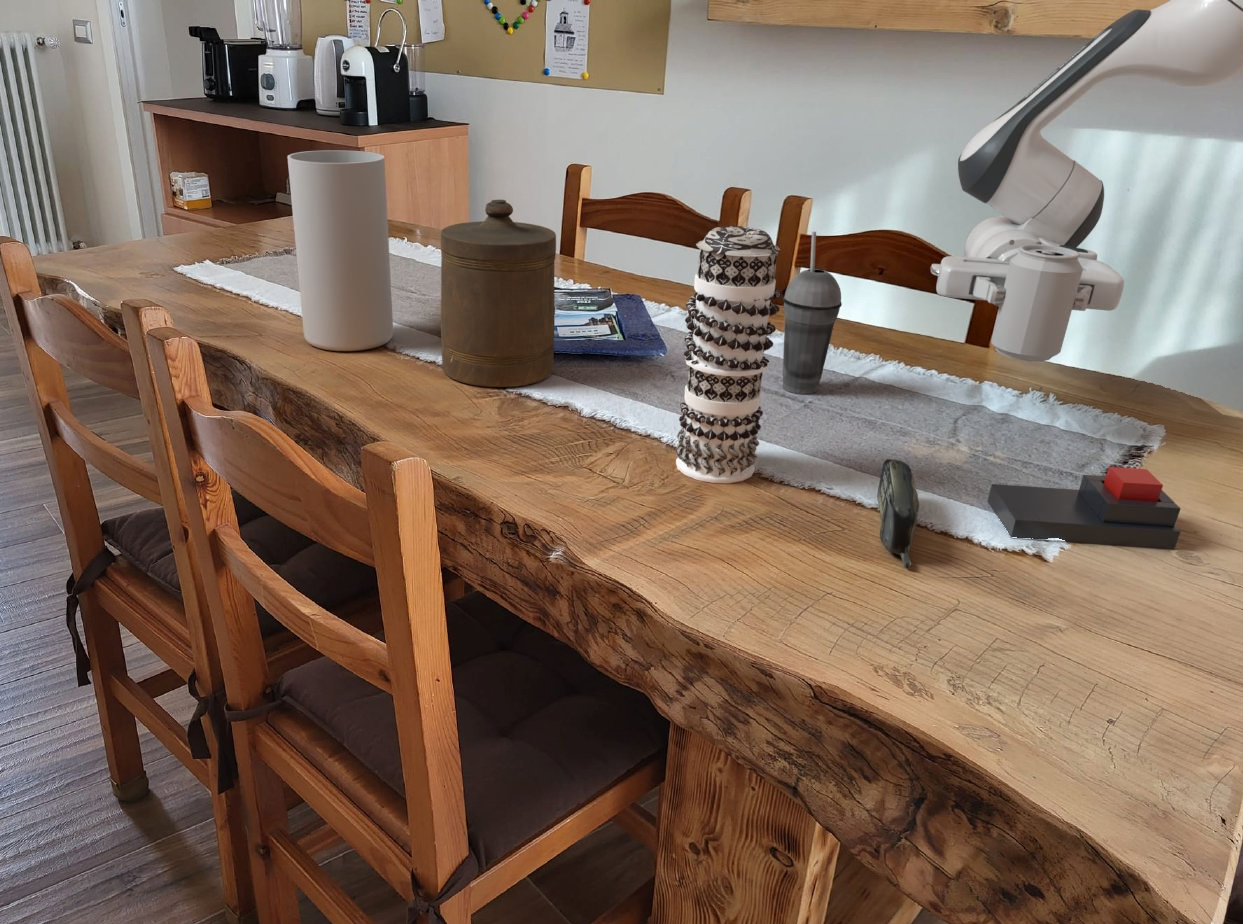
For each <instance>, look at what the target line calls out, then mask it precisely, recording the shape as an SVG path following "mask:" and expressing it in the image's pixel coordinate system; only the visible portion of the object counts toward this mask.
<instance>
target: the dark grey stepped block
mask: <svg viewBox="0 0 1243 924" xmlns="http://www.w3.org/2000/svg"><path fill="white" fill-rule="evenodd" d="M1105 478H1106V475H1095V474H1083V476H1082V478H1081V481H1080V486H1079V488H1078V489H1073V488H1059V487H1057V488H1056V487H1044V486H1028V485H1014V484H1013V485H1012V484H1001V483H999V484H998V483H991V485H990V489H989V494H988V497H987V503H988V505H989V506H990V508H991V509H992V511H993V512H994V514H995V516H996V517H997V516H998V517H997V519H998V520H999V519H1000V520H999V522H1000V521H1001V522H1002V523H1001V522H1000V523H1001V525H1002V524H1003V525H1004V526H1003V525H1002V526H1003V528H1004V527H1005V528H1006V530H1007V531H1008V533H1009V534H1008V533H1007V534H1008V536H1009V535H1010V536H1011V537H1017V538H1031V539H1032V538H1033V539H1048V538H1059V539H1062V540H1065V541H1066V542H1065V543H1073V544H1086V545H1090V544H1091V545H1102V546H1115V547H1127V548H1129V547H1130V548H1144V549H1157V550H1171V551H1172V550H1173V551H1174V550H1175V549H1176V547H1177V544H1178V541H1179V538H1180V534H1181V530H1180V529H1179V528H1178V527H1177V526H1176V523H1177V520H1178V518H1179V514H1180V511H1181V507H1180V506H1179V505H1178V504H1177V503H1176V502H1175V501H1174V500H1173V499H1172V498H1171V497H1170V496H1169V495H1168V494H1167V493H1166V492H1165V491H1163V489H1162V490H1161V493H1160V496H1159V499H1158V502H1151V501H1137V500H1122V499H1116V497H1115V496H1114V495H1113V494H1112V493H1111V492H1110V491H1109V490H1108V489H1107V487H1106V486H1105V485H1104V481H1105ZM1005 528H1004V529H1005ZM1006 530H1005V531H1006ZM1007 531H1006V532H1007ZM1010 536H1009V537H1010ZM1011 537H1010V538H1011Z"/></svg>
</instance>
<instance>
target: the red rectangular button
mask: <svg viewBox="0 0 1243 924" xmlns="http://www.w3.org/2000/svg"><path fill="white" fill-rule="evenodd" d="M1105 476H1106V478H1105V481H1104V485H1105V486H1106V487H1107V489H1108V490H1109V491H1110V492H1111V493H1112V494H1113V495H1114V496H1115V497H1116V499H1122V500H1137V501H1151V502H1158V499H1159V496H1160V493H1161V490H1163V487H1164V484H1162V482H1161V481H1159V480H1158V478H1157V477H1156V476H1154V475H1153V474H1152V473H1151V472H1150V471H1149V470H1148V469H1147V468H1134V467H1132V468H1131V467H1118V466H1117V467H1116V466H1108V469H1107V471H1106V475H1105Z"/></svg>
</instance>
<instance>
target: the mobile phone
mask: <svg viewBox="0 0 1243 924" xmlns="http://www.w3.org/2000/svg"><path fill="white" fill-rule="evenodd" d="M877 489H878V490H877V494H876V497H877V502H878V507H879V514H880V528H879V529H880V530H879V537H880V542H881V544H882V545H883V547H884V548H885V549H886V551H887V552H888V553H891V554H896V555H899V557H900V558H901V561H902V564H903V567H904V569H910V568H911V566H912V562H911V558H910V551H911V549H912V546H913V544H914V539H915V535H916V530H917V525H918V524H917V522H918V514H919V509H920V500H919V495H918V491H917V488H916V486H915V479H914V474H913V472H912V468H911V467H910V466H909V465H908V464H907V463H905V462H904V461H902V460H898V459H893V458H892V459H891V458H886V459H885V460H884V461H883V464H882V467H881V473H880V477H879V483H878V488H877Z"/></svg>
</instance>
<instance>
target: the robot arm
mask: <svg viewBox="0 0 1243 924" xmlns="http://www.w3.org/2000/svg"><path fill="white" fill-rule="evenodd" d="M1242 72H1243V0H1169V1H1167V2H1165V3H1163V4H1161V5H1159V6H1157V7H1154V8H1152V9H1138V8H1137V9H1133V10H1131V11H1130V12H1128V13H1125V14H1124V15H1122V16H1120V18H1117V19H1116V20H1115V21H1114V22H1112V23H1111V24H1109V25H1108V26H1107V27H1105V28H1104V29H1102V31H1100V32H1099V33H1098V34H1096V35H1095V36H1094V37H1093V38H1092V39H1090V40H1089V41H1088V42H1087V43H1086V44H1085V45H1083V46H1082V47H1081V48H1080V49H1078V50H1077V51H1076V52H1075V53H1074V54H1072V55H1071V56H1070V57H1069V58H1068V59H1066V60H1065V62H1063V63H1062V64H1061V65H1060V66H1059V67H1057V68H1056V69H1055V70H1054V71H1053V72H1051V73H1050V74H1049V75H1048V76H1047V77H1046V78H1045V79H1043V80H1042V81H1041V82H1039V84H1037V85H1036V86H1035V87H1034V88H1033V89H1032V90H1031V91H1029V92H1028V93H1027V94H1026V95H1025V96H1023V98H1021V99H1019V101H1017V102H1016V103H1015V104H1014V105H1013V106H1012V107H1011V108H1009V109H1008V110H1007V111H1005V112H1003V113H1002V114H1001V115H1000V116H998V117H996V118H995V119H994V120H993V121H992V122H991V123H989V124H987V125H986V126H985V127H983V128H982V129H980V130H979V131H978V132H977V133H976V134H974V136H973V137H972V138H971V139H970V141H969V142H967V144H966V146H965V147H964V148H963V150H962V152H961V153H960V155H959V156H958V160H957V171H958V173H957V174H958V178H959V184H960V186H961V189H962V191H963V192H965V193H966V194H968V195H969V196H971V197H973V198H975V199H976V200H978V201H980V202H981V203H983V204H987V205H988V206H990V207H991V208H992V209H994V210H995V211H997V213H999V214H1000V215H998V216H993V217H989V218H985V219H984V220H982V221H980V222H979V223H978V224H977V225H976V226H974V227H973V229H972V230H971V232H970V233H969V235H968V236H967V240H966V243H965V246H964V256H963V255H962V256H960V255H947V256H945V257H943V258H942V259H941V261H940V263H932V264H931V266H930V267H929V269H930V273H931V274H932V275H934V276H935V277H936V276H937V280H936V286H935V289H936V293H937V294H938V295H939V296H940V297H941V296H942V297H945V298H950V299H951V298H952V299H963V300H978V301H987V302H988V303H989V304H993V306H996V307H998V308H999V305H1000V304H1003V302H1004V296H1005V295H1006V288H1004V284H1005V280H1006V276H1007V272H1008V267H1009V263H1010V259H1011V258H1013V257H1014V256H1015V255H1017V254H1018V253H1019V252H1020V250H1019V247H1021V246H1023V245H1029V244H1039V245H1051V246H1058V247H1063V248H1068V249H1071V250H1074V251H1077V252H1078V253H1079V254H1080V257H1078V261H1079V263H1080V265H1081V266H1082V268H1083V271H1082V275H1081V278H1080V282H1079V286H1078V289H1077V293H1076V297H1075V300H1074V304H1073V308H1072V311H1080V312H1085V311H1086V310H1098V311H1108V312H1109V311H1110V312H1111V311H1114V310H1116V309H1117V308H1118V306H1119V304H1120V301H1121V298H1122V295H1123V291H1124V286H1125V279H1124V278H1123V276H1122V275H1120V273H1118V271H1116V270H1115V269H1114V268H1112V267H1111V266H1110V265H1109V264H1107V263H1105V262H1103V261H1100V260H1098V253H1096V252H1095V251H1094V250H1091V249H1085V248H1081V247H1079V246H1080V245H1081V244H1082V243H1083V242H1084V241H1085V240H1086V239H1087V238H1088V236H1089V235H1090V234H1091V233H1092V232H1093V230H1094V229H1095V227H1096V226H1097V224H1098V223H1099V221H1100V219H1101V217H1102V213H1103V208H1104V202H1105V186H1104V183H1103V181H1102V180H1101V179H1099V178H1098V177H1097V176H1096V175H1094V174H1093V173H1092V172H1090V171H1089V170H1088V169H1087V168H1085V167H1084V166H1083V165H1081V164H1080V163H1079V162H1077V161H1076V160H1075V159H1072V158H1071V157H1070V156H1068V155H1067V154H1065V153H1064V152H1063V151H1061V150H1060V149H1058V148H1057V147H1056V146H1054V145H1053V144H1052V143H1050V142H1049V141H1048V140H1047V139H1045V138H1044V137H1043V136H1042V134H1041V132H1042V130H1043V129H1044V128H1045V127H1047V126H1048V125H1049V124H1050V123H1051V122H1053V121H1054V120H1055V119H1056V118H1057V117H1059V116H1060V115H1061V114H1062V113H1063V112H1065V111H1066V110H1067V109H1068V108H1070V107H1071V106H1072V105H1073V104H1075V102H1077V101H1078V100H1079V99H1080V98H1082V96H1084V95H1085V94H1086V93H1088V92H1089V91H1090V90H1091V89H1092V88H1094V87H1095V86H1097V85H1099V84H1100V83H1102V82H1104V81H1106V80H1109V79H1112V78H1116V77H1137V78H1143V79H1148V80H1152V81H1157V82H1160V83H1165V84H1170V85H1176V86H1180V87H1206V86H1212V85H1217V84H1220V83H1222V82H1226V81H1229V80H1230V79H1232V78H1235V77H1236V76H1237V75H1239V74H1240V73H1242Z"/></svg>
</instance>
